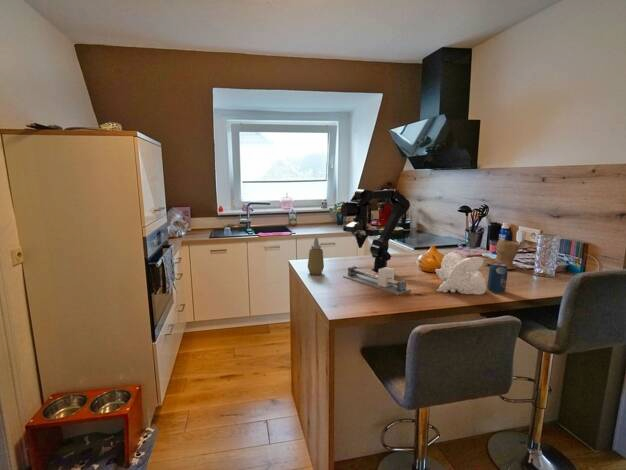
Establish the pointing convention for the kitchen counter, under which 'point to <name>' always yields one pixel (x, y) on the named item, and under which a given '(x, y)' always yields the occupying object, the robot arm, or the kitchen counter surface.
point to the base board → (375, 283)
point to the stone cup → (505, 253)
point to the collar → (385, 276)
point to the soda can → (497, 277)
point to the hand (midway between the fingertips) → (360, 247)
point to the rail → (400, 284)
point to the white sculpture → (461, 275)
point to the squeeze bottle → (315, 258)
